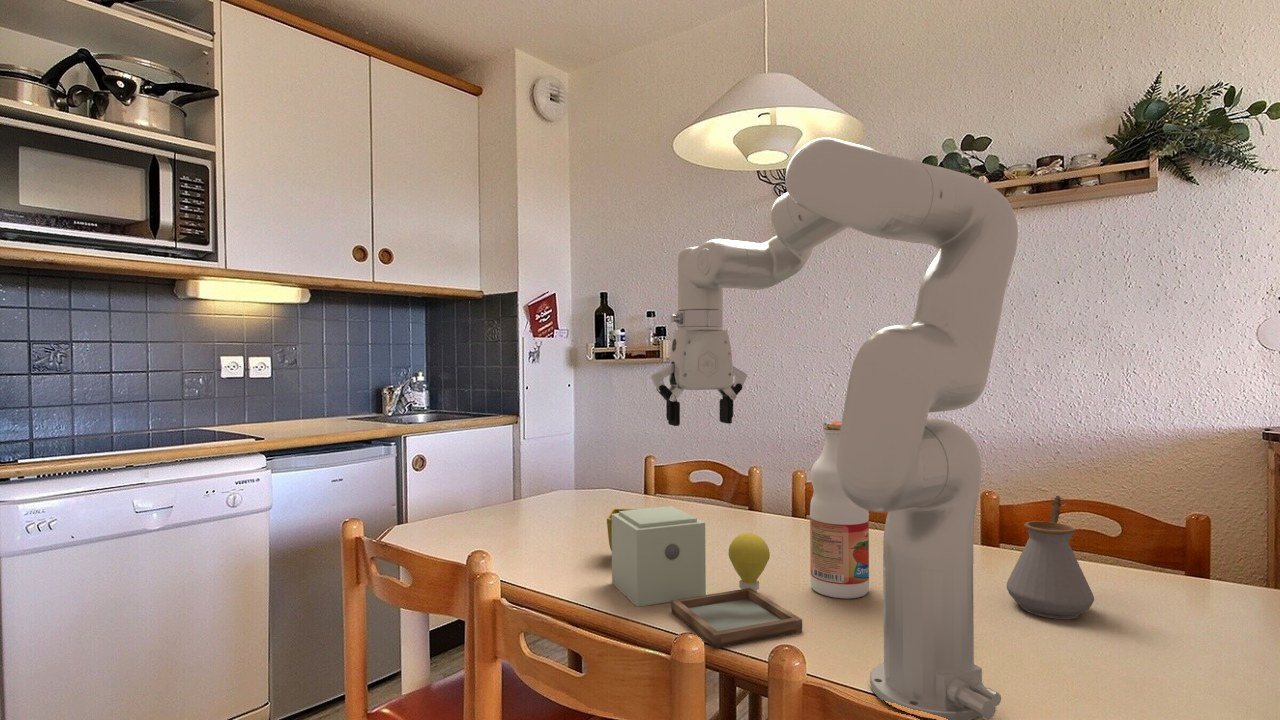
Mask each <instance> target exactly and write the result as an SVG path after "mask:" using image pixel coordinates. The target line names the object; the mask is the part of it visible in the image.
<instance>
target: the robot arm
mask: <svg viewBox="0 0 1280 720" xmlns="http://www.w3.org/2000/svg"><path fill="white" fill-rule="evenodd" d="M785 172H786V173H785V176H784V177H785V181H784V182H785V187H786V191H787V192H785V193H784V194H782V195H781V196H779V197H778V198H777V199H775V202H774V203H773V204H772V207H771V211H770V220H771V225H772V228H773V232H774V234H775V236H773V237H771V238H770V239H769V240H767V241H765V242H761V243H759V242H752V241H744V240H732V239H724V238H715V239H710V240H709V239H708V241H705V242H702V244H700V245H699V246H692V247H686V248H684V249H682V250H680V252H679V253H678V256H677V311H676V313H675V314H671V315H670V322H671V323H675V324H676V327H677V329H674V331H673V335H672V336H673V337H672V341H671V348H670V354H669V355H670V357H669V364H668V365H666V366H665V367H663V368H661V369H659V370H658V371H655V372H654V373H652V374H651V380H652V382H653V384H654V387H655V388H656V392H658V393H659V394H660V396H661V397H662V398H663V400H664V401H665V403H666V404H665V406H666V410H665V411H666V420H667V421H668V423H667V424H668V425H670V426H674V427H679V426H680V425H681V421H680V420H681V403H680V401H678V398H679V397H680V396H681V394H682V393H683V392H684V390H687V391H697V390H698V391H703V390H706V391H709V390H717V392H718V393H719V394H720V395H721V397H722V398H720V399H719V422H720V423H723V424H727V425H729V424H732V423H733V417H734V400H736V399H737V395H738V394H739V393H740V392H741V391H742V390H743V386H744V384H745V381H746V380H747V378H748V374H747V373H746V372H744V371H743V370H741V369H739V368H738V367H736V366H734V365H733V355H732V347H731V340H730V336H729V332H728V330H724V328H723V325H724V318H723V317H724V316H723V315H724V311H723V309H724V307H723V304H724V303H723V301H724V300H723V299H724V297H723V295H724V293H723V292H724V291H723V289H737V290H742V289H743V290H750V291H751V290H753V291H760V290H766V289H768V288H771V287H774V286H777V285H778V284H780V283H782V282H783V281H786V280H788V279H789V278H791V277H793V276H795V275H797V273H799V272H800V271H801V270H802V269H803V268H804V266H805V265H806V264H807V262H808V261H809V259H810V257H811V255H812V252H813V248H815V247H817V246H818V245H820V244H822V243H824V242H826V241H827V240H829V239H831V238H832V237H834V236H836V235H838V234H840V233H842V232H843V231H845V230H847V229H848V228H849V229H850V228H851V229H853V230H855V231H858V232H861V233H863V234H865V235H868V236H872V237H876V238H881V239H884V240H885V239H886V240H893V241H899V242H905V243H906V242H907V243H912V244H913V243H914V244H924V245H929V246H932V247H934V248H935V249H937V254H936V255H935V257H934V258H933V260H932V262H930V265H929V266H928V268H927V270H926V271H925V273H924V276H923V277H922V280H921V283H920V286H919V290H918V294H917V301H916V308H915V311H914V315H913V319H912V322H911V323H910V324H896V325H891V326H887V327H886V326H885V327H883V328H881V329H879V330H877V331H876V332H874V333H872V334H871V335H870V336H869V337H868V338H867V339H866V340H865V341H864V343H863V344H862V345H861V346H860V348H859V350H858V351H857V353H856V355H855V357H854V360H853V362H852V366H851V369H850V375H849V377H848V378H849V379H848V384H847V390H846V396H845V401H844V407H843V412H842V417H841V422H842V423H841V429H840V434H839V440H838V447H837V456H836V466H837V474H838V479H839V482H840V485H841V487H842V489H843V491H844V493H845V494H846V496H847V497H848V498H849V499H850V500H851V501H852V502H853V503H854V504H856V505H857V506H859V507H860V508H863V509H865V510H868V512H874V513H887V515H886V518H885V523H884V524H885V525H884V530H883V542H882V543H883V548H882V549H883V550H882V551H883V556H882V558H883V559H882V562H883V564H882V565H883V566H882V567H883V569H882V570H883V572H882V573H883V574H882V576H883V577H882V579H883V581H882V582H883V587H882V588H883V662H881V663H879V664H877V665H876V666H875V667H873V668H872V670H871V671H870V673H869V674H870V675H869V684H870V688H871V691H872V692H873V693H874V694H875V695H876V696H877V698H878V699H880V700H881V701H883V700H884V701H888V702H891V703H896V704H898V705H901V706H904V707H907V708H910V709H913V710H918V711H923V712H927V713H930V714H933V715H938V716H942V717H944V718H946V719H948V720H974V719H976V718H979V717H982V719H985V720H990V719H991V718H992V717H994V715H995V713H996V707H998V706H999V705H1000V704H1001V701H1002V696H1001V693H999V692H997V691H995V690H993V689H991V688H990V687H986V686H985V685H984V683H983V668H982V667H981V666H979V665H976V664H975V659H974V658H975V656H974V655H975V651H974V650H975V647H974V646H975V645H974V643H975V642H974V641H975V639H974V638H975V637H974V635H975V634H974V629H975V628H974V627H975V625H974V623H975V622H974V619H975V618H974V537H975V536H974V534H975V521H976V510H977V503H978V497H979V493H980V492H979V491H980V487H981V481H982V459H981V454H980V450H979V448H978V446H977V444H976V442H975V441H974V439H973V438H972V436H971V435H970V434H969V432H967V431H966V430H965V429H963V428H962V427H961V426H959V425H958V424H956V423H953V422H950V421H948V420H945V419H940V418H928V415H929V413H939V412H948V411H955V410H959V409H963V408H967V407H968V406H971V405H972V404H974V403H975V402H976V401H978V400H979V398H980V397H981V395H982V394H983V392H984V390H985V387H986V385H987V381H988V379H989V378H988V377H989V372H990V368H991V362H992V359H993V358H992V357H993V354H994V348H995V344H996V340H997V336H998V331H999V327H1000V321H1001V317H1002V309H1003V303H1004V298H1005V294H1006V289H1007V285H1008V281H1009V278H1010V274H1011V270H1012V266H1013V263H1014V259H1015V256H1016V252H1017V246H1018V241H1019V240H1018V239H1019V237H1018V236H1019V229H1018V227H1019V226H1018V221H1017V217H1016V214H1015V211H1014V209H1013V207H1012V205H1011V203H1010V202H1009V200H1008V199H1007V198H1006V197H1005V196H1004V195H1003V194H1002V192H1001V191H999V190H998V189H996V188H995V187H994V186H992V185H991V184H989V183H987V182H985V181H983V180H981V179H979V178H977V177H974V176H972V175H969V174H967V173H964V172H960V171H958V170H953V169H949V168H946V167H942V166H937V165H936V166H935V165H932V164H928V163H923V162H919V161H916V160H912V159H908V158H904V157H900V156H895V155H891V154H886V153H884V152H880V151H878V150H876V149H874V148H872V147H869V146H865V145H862V144H856V143H853V142H849V141H846V140H845V141H844V140H842V139H837V138H832V137H820V138H816V139H812V140H811V141H809V142H807V143H806V144H804V145H802V146H801V147H800V148H799V149H798V150H797V151H796V152H795V153H794V155H793V156H792V157H791V159H790V161H789V163H788V165H787V168H786V171H785ZM666 377H669V378H668V379H669V385H670V386H669V388H668V387H667V386H666V385H665V382H664V379H665V378H666ZM734 378H735V379H734ZM884 701H883V702H884Z"/></svg>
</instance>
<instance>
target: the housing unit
mask: <svg viewBox="0 0 1280 720" xmlns="http://www.w3.org/2000/svg"><path fill="white" fill-rule="evenodd" d="M635 509H636V510H626V511H619V513H616V514H612V552H611V583H612V585H614V586H615V588H617V590H619V591H620V592H621V593H622V594H623V595H624V596H625V597H626V596H627V597H626V598H627V599H628V600H629V601H631V602H632V603H633V604H634V605H635V606H636V607H637V608H640V607H644V606H650V605H651V606H652V605H659V604H664V603H669V602H670V603H671V600H676V599H683V598H689V597H696V596H702V595H707V593H706V589H707V588H706V587H707V586H706V585H707V583H706V580H707V579H706V576H707V574H706V572H707V571H706V569H707V568H706V522H705V521H702V520H700V519H698V518H697V517H695V516H693V515H692V514H689V513H687V512H685V511H683V510H681V509H679V508H676V507H674V506H672V505H670V506H659V507H647V508H635Z"/></svg>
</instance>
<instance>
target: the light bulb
mask: <svg viewBox="0 0 1280 720" xmlns="http://www.w3.org/2000/svg"><path fill="white" fill-rule="evenodd" d="M728 547H729V548H728V557H729V560H730V562H731V565H732V566H733V568H734V570H735V571H736V573H737V574H738V576H739V577H740V580H739V583H738V584H739V585H738V586H739V589H740V590H741V589H747V588H751V589H753V590H754V591H756V592H758V590H760V582H759V580H758V579H759V577H760V576H761V575H762V573H763V572H764V570H765V568H766V566H767V564H768V562H769V560H770V556H771V554H770V553H771V552H770V548H769V547H768V544H767V542H766V540H764V539H763V538H762V536H760V535H757V534H755V533H752V532H744V533H741V534H739V535H737V536H736V537H734V538H733V540H732V541H731V542H730V544H729V546H728Z"/></svg>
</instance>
